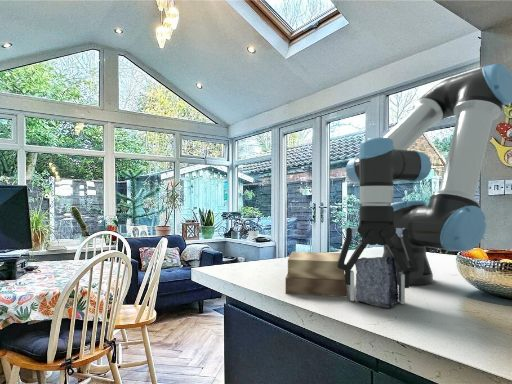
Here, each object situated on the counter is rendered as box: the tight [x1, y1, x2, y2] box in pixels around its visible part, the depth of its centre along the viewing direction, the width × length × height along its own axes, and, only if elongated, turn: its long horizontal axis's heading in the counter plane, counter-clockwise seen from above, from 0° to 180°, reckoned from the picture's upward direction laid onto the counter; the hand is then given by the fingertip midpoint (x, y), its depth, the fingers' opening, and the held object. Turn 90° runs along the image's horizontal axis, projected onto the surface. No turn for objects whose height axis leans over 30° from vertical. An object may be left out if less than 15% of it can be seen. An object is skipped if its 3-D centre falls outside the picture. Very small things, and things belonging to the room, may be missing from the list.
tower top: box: [287, 251, 345, 280], centre depth 94 cm, size 14×14×4 cm
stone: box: [354, 256, 400, 309], centre depth 81 cm, size 12×10×10 cm
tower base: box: [285, 272, 348, 297], centre depth 93 cm, size 15×15×4 cm
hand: (376, 300), depth 80 cm, fingers closed on stone, 10 cm apart
